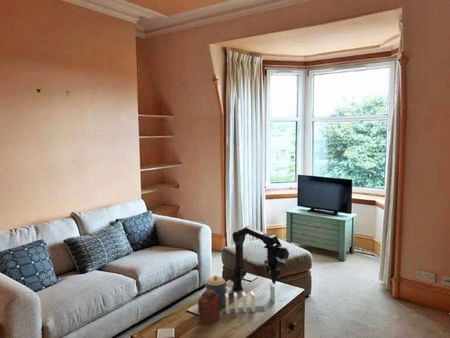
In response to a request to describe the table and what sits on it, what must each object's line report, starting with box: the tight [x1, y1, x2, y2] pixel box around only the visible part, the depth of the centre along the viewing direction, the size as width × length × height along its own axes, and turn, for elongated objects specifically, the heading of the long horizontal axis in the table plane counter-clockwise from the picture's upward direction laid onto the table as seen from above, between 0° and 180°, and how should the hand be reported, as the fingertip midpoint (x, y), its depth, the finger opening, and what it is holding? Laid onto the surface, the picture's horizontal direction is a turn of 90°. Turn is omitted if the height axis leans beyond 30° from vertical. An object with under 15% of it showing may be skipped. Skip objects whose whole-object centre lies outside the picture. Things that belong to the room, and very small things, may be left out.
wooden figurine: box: [197, 289, 221, 326], centre depth 189 cm, size 12×6×18 cm, turn 125°
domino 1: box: [224, 292, 230, 314], centre depth 199 cm, size 5×2×10 cm, turn 6°
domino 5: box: [269, 282, 276, 303], centre depth 211 cm, size 5×2×10 cm, turn 6°
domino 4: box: [249, 290, 256, 312], centre depth 201 cm, size 5×2×10 cm, turn 6°
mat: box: [221, 305, 266, 316], centre depth 201 cm, size 7×24×1 cm, turn 96°
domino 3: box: [241, 291, 247, 312], centre depth 200 cm, size 5×2×10 cm, turn 6°
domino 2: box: [233, 291, 239, 313], centre depth 200 cm, size 5×2×10 cm, turn 6°
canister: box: [204, 275, 228, 308], centre depth 210 cm, size 13×13×18 cm
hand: (272, 280), depth 211 cm, fingers open, 9 cm apart
